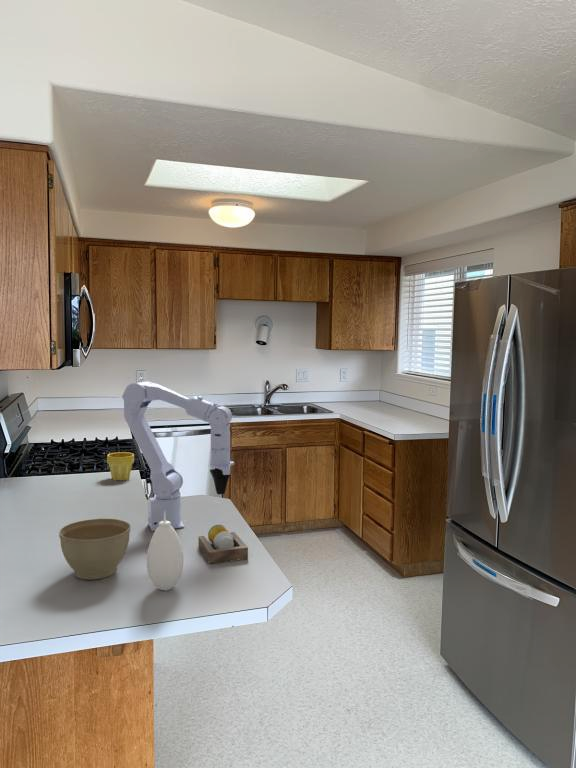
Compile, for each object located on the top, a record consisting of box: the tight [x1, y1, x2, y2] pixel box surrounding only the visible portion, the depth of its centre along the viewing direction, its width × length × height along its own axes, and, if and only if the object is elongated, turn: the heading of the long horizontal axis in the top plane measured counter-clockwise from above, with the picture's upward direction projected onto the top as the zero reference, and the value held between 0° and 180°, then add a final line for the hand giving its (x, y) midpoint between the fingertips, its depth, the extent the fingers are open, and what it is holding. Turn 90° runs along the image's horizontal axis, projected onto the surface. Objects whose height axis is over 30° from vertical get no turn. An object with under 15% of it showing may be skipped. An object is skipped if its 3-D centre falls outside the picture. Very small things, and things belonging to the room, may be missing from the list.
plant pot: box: [106, 451, 135, 481], centre depth 230 cm, size 10×10×10 cm
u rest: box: [198, 531, 249, 565], centre depth 152 cm, size 10×12×3 cm
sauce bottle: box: [146, 510, 184, 592], centre depth 130 cm, size 8×8×18 cm
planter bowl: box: [58, 518, 131, 580], centre depth 139 cm, size 16×16×11 cm
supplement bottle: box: [207, 524, 234, 549], centre depth 155 cm, size 5×5×10 cm
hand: (220, 493), depth 171 cm, fingers closed
